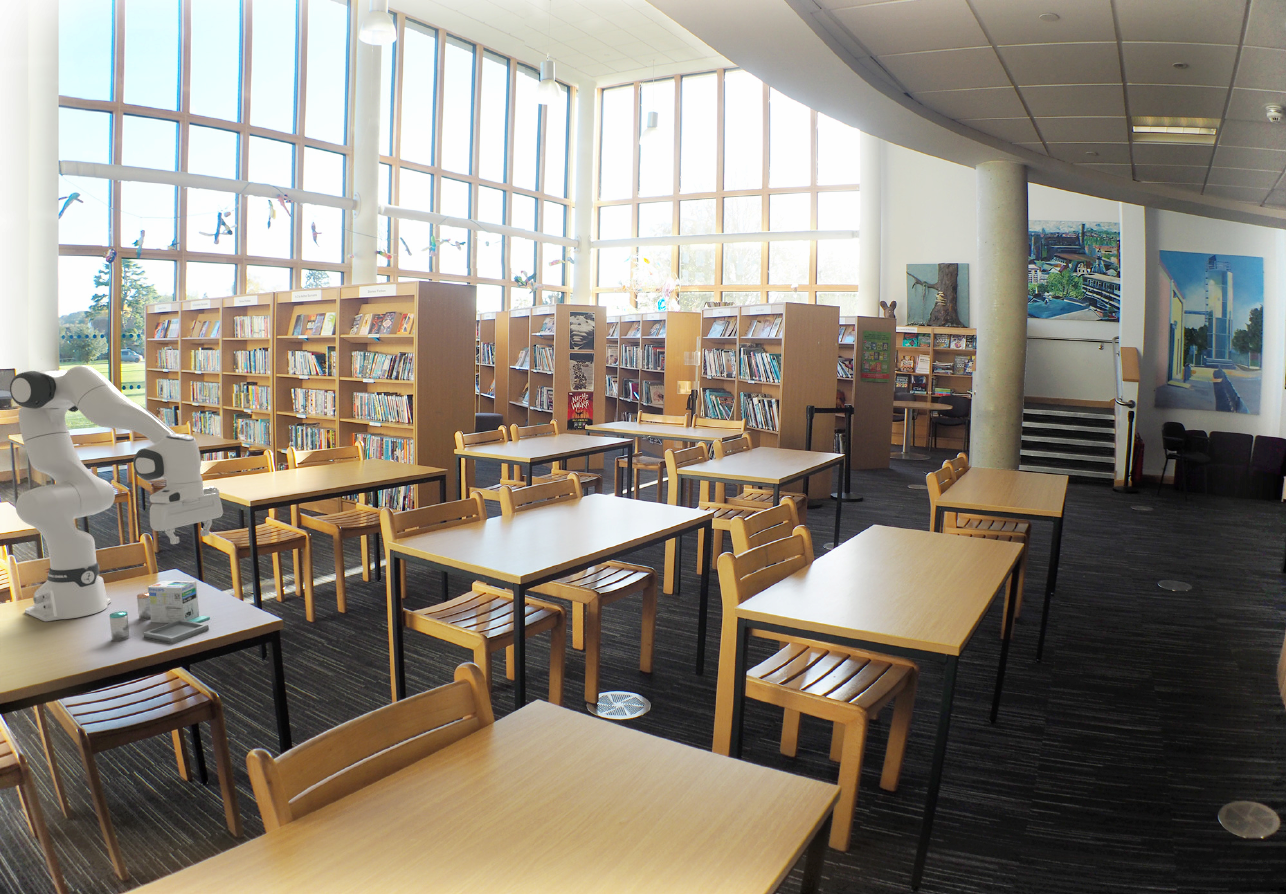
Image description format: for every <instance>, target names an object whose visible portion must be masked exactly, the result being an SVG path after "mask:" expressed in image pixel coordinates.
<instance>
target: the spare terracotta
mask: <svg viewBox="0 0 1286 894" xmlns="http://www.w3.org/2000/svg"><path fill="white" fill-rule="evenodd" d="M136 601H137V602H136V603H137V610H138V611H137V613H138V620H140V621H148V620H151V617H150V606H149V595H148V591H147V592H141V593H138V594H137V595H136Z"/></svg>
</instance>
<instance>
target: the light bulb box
mask: <svg viewBox="0 0 1286 894" xmlns="http://www.w3.org/2000/svg"><path fill="white" fill-rule="evenodd" d="M197 587H198V586H197V581H196V580H191V581H190V580H186V581H185V580H165V579H164V580H161V581H159V582H156V583H154V584H151V585H149V586H147V592H148V595H149V606H150V617H151V619H150V623H158V624H159V623H164V624H169V623H172V622H175V621H178V620H186V621H188V620H191V619H194V618H197V617H199V616H200V611H199V610H200V609H199V597H198V589H197Z"/></svg>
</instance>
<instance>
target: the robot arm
mask: <svg viewBox="0 0 1286 894" xmlns="http://www.w3.org/2000/svg"><path fill="white" fill-rule="evenodd" d="M9 392H10V396H11V398H12V400H13V401H14V403H16V404H17V405H18V406H20V408H19V410H18V424H19V430H20V435H21V439H22V441H23V444H24V448H25V451H26V454H27V457H28V461H29V463H30V465H31V467H32V468H33V469H34V470H36V471H37V472H39V473H42V474H46V475H48V476H49V477H51V478H52V479H53V481H54V482H55V483H53V484H49V485H42V486H38V487H35V488H32V489H29V490H27V491H24V492H22V493H21V494H20V495H18V498H17V499H16V503H15V511H16V514H17V515H18V518H20V520H21V521H22V522H23V523H25V524H27V525H30V526H31V527H33V528H35V529H36V530H37V531H38V532H39V533H40V534H41V535H42V536H43V539H44V541H45V543H46V547H47V549H48V550H47V551H48V557H49V565H50V567H49V568H46V569H45V573H47V578H46V581H45V582H44V583H43V584H42V585H41V586H39V588H38V589H37V590H36V591H35V592H34V594H33V598H32V599H33V604H34V605H31V606H29V607H26V608H25V610H24V613H25V614H26V615H30V616H31V617H34V618H36V619H38V620H40V621H43V622H52V621H56V620H57V621H58V620H68V619H75V618H82V617H87V616H90V615H93V614H97V613H99V612H102V611H104V610H106V609H107V608H108V605H109V604H110V603H111V602H112V600H111V598H109V597H108V596H107V591H106V587H105V583H104V582H105V581H104V578H103V577H102V576H100V564H99V562H98V561H97V555H96V553H97V552H96V542H95V538H94V537H93V535H91V534H90V533H88V532H86V531H84V530H80V529H78V528H77V527H76V523H75V519H80V518H84V517H89V516H94V515H96V514H99V513H102V512H104V511H106V510H108V509H110V508H111V507H112V506H113V505H114V502H115V498H116V493H115V489H114V487H113V486H112V484H111V483H110V482H109V481H108V480H105V479H104V478H101V477H98V476H97V475H95V474H94V473H92V472H91V471H90V470H89V469H88V467H86V465H84V463H83V462H82V460H81V459H80V457H79V455H78V453H77V450H76V449H75V446H74V442H73V439H72V437H71V434H70V430H69V429H68V425H67V422H66V413H67V412H68V411H69V412H72V413H76V412H77V411H79V412H80V413H81V414H82V415H83V416H84V417H85V418H86V419H87V420H88V421H90V422H91V423H93V424H94V425H96V426H98V427H102V428H109V429H117V430H118V429H119V430H124V431H125V430H126V431H132V432H135V433H138V434H141V435H143V436H144V437H146V438H147V439H148V440H149V441H150V442H152V443H153V444H152V445H150V446H146V447H144V448H141V449H139V450H138V451H137V452H136V453H135V455H134V457H133V461H132V462H133V468H134V471H135V473H136V474H137V476H138V477H139V478H141V479H142V480H144V481H150V482H151V481H160V480H163V479H164V480H166V483H165V485H166V486H164V487H163V488H161V489H160V490H157V491H156V492H154V493H152V494H150V495H149V501H150V503H152V504H151V506H150V507H149V524H150V528H151V529H152V530H153V531H157V532H164V533H165V534H166V536H167V537H168V538H169V543H170V544H171V545H177V544H179V543H180V536H176V535H175V532H176V529H177V528H181V527H184V526H189V525H193V524H198V523H202V524H203V528H202V529H200V536H201V537H208V536H210V528H211V527H212V525H213V520H214V519H218V518H221V517H222V516H223V514H224V510H223V504H222V500H221V497H220V491H219V489H218V488H216V487H214V486H209V487H204V481H203V480H204V479H203V477H202V474H201V466H202V454H201V451H200V449H199V444H198V442H197V439H196V437H194V436H193V435H191V434H188V433H187V434H186V433H176V432H175V431H174V430H173V429H172V428H171V427H170V426H168V425H167V424H166V423H164V422H163V421H162V420H161V419H160V418H159V417H157V416H156V415H155V414H154V413H153V412H151V411H150V410H148V409H147V408H145V407H143V406H141V405H139V404H138V403H136V402H135V401H134V400H132V399H131V398H129V397H128V396H127V395H125V394H124V393H122V391H120V390H119V389H118V388H117V387H116V386H115V385H114V384H113V383H112V382H111V381H110V380H109V379H108V378H107V377H106V376H105V375H103V374H102V373H100V371H98V370H96V369H95V368H93V367H92V366H89V365H77V366H74V367H73V366H72V368H70V369H68V370H66V369H50V370H38V371H36V370H29V371H23V372H20V373H18V374H16V375H15V376H13V378H12V380H11V382H10V385H9Z"/></svg>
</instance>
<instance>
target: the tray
mask: <svg viewBox="0 0 1286 894" xmlns="http://www.w3.org/2000/svg"><path fill="white" fill-rule="evenodd" d="M208 630H210V628H209V624H208V623H202V622H200V623H197V622H191V621H186V620H178V621H175V622H172V623H165V624H164V625H160V626H157V627H156V628H153V629H150V630H149V629H148V630H147V631H145V632H143V633H142V634H143V639H148V640H152V641H155V642H156V641H158V642H161V643H167V644H171V645H173V644H176V643H178V642H181V641H183V640H186V639H188V638H190V637H193V636H197V635H199V634H201V633H203V632H207V631H208Z"/></svg>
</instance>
